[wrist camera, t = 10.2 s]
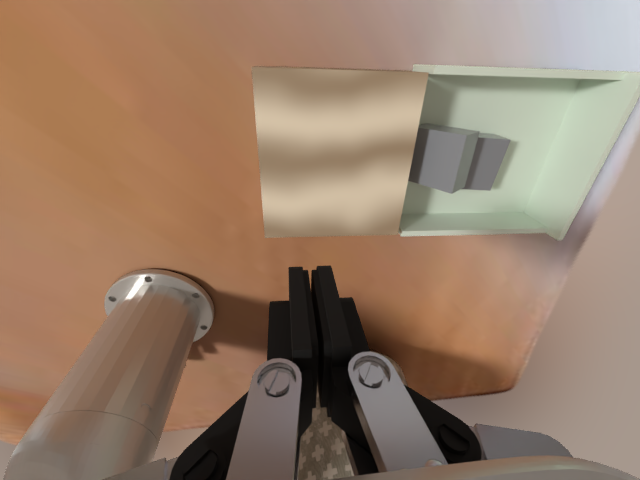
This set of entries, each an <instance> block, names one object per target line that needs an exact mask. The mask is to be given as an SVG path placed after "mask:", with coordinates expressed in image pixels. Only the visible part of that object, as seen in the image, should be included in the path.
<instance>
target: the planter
mask: <svg viewBox="0 0 640 480" xmlns="http://www.w3.org/2000/svg"><path fill="white" fill-rule="evenodd" d="M370 352H374V351H370ZM374 353H378V352H374ZM378 354H380V355H382V356H384V357H385V358H386V359H388V360H389V361H390V362H391V364H392V365H393V366H394V368H395V370H396V372H397V374H398V375H399V377H400V379H401V381H402V383H403V384H404V385H406V386H408V385H407V382H406V379H405V377H404V374H403V371H402V369H401V368H400V366H399V365H398V364H397V363H396V362H395V361H394V360H393V359H391V358H389V357H388V356H386V355H383V354H381V353H378ZM351 476H354V474H353V471H352V467H351V464H350V461H349V458H348V455H347V451H346V448H345V445H344V442H343V439H342V435H341V428H340V427H338V426H337V425H336V424H335V423H333V422H332V421H331V417H327V411H326V407H324V408H321V407H320V401H319V393H318V384H317V395H316V408H313V409H312V423H311V425H310V426H309V427H308V428H307V430H306V431H305V432H304V433H303V435H302V436H301V448H300V461H299V473H298V480H327V479H335V478H343V477H351Z"/></svg>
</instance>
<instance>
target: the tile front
mask: <svg viewBox="0 0 640 480" xmlns="http://www.w3.org/2000/svg"><path fill="white" fill-rule="evenodd" d="M479 132H480V131H475V130H468V129H462V128H455V127H449V126H442V125H435V124H429V123H425V124H421V125H419V127H418V132H417V137H416V142H415V147H414V153H413V158H412V163H411V168H410V173H409V178H408V181H411V182H414V183H417V184H421V185H424V186H427V187H431V188H434V189H437V190H441V191H444V192H447V193H451V194H453V193H454V192H456V191H458V190H460V189H462V188H463V187H465V183H466V180H467V176H468V172H469V169H470V165H471V161H472V158H473V154H474V151H475V147H476V143H477V140H478V136H479Z"/></svg>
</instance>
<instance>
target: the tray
mask: <svg viewBox="0 0 640 480" xmlns="http://www.w3.org/2000/svg"><path fill="white" fill-rule="evenodd" d="M413 71H416V72H427V73H429V75H428V80H427V85H426V90H425V95H424V101H423V106H422V111H421V116H420V121H419V125H421V124H425V123H429V124H435V125H442V126H449V127H455V128H462V129H468V130H475V131H480V132H479V133H489V134H496V135H499V136H502V137H505V138H508V139H510V140H511V141H510V143H509V146H508V148H507V151H506V153H505V156H504V158H503V161H502V163H501V166H500V168H499V170H498V173H497V175H496V178H495V180H494V183H493V185H492V188H491V190H490V191H488V190H468V189H460V190H458V191H456V192H454V193H453V194H451V193H447V192H444V191H441V190H437V189H434V188H431V187H427V186H424V185H421V184H417V183H414V182H411V181H408V184H407V189H406V194H405V199H404V204H403V210H402V215H401V220H400V225H399V230H398V232H399V234H400V236H442V235H486V234H531V233H547V234H548V235H550V236H551V237H553V238H554V239H556V240H563V238H564V237H565V235H566V233H567V231H568V229H569V227H570V225H571V223H572V222H573V220H574V218H575V216H576V214H577V212H578V210H579V209H580V207H581V205H582V203H583V201H584V199H585V197H586V195H587V194H588V192H589V190H590V188H591V186H592V184H593V182H594V181H595V179H596V177H597V175H598V173H599V171H600V169H601V167H602V166H603V164H604V162H605V160H606V158H607V156H608V154H609V153H610V151H611V149H612V147H613V145H614V143H615V141H616V139H617V138H618V136H619V134H620V132H621V130H622V128H623V126H624V125H625V123H626V121H627V119H628V117H629V115H630V113H631V111H632V110H633V108H634V106H635V104H636V102H637V100H638V98H639V97H640V72H626V71H596V70H567V69H538V68H508V67H479V66H450V65H420V64H414V65H413Z"/></svg>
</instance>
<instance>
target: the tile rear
mask: <svg viewBox="0 0 640 480" xmlns="http://www.w3.org/2000/svg"><path fill="white" fill-rule="evenodd" d="M510 141H511V140H510V139H508V138H505V137H502V136H499V135H496V134H489V133H479V136H478V140H477V143H476V147H475V151H474V154H473V158H472V161H471V165H470V169H469V172H468V176H467V180H466V183H465V187H463V188H462V189H468V190H488V191H490V190H491V188H492V185H493V183H494V180H495V178H496V175H497V173H498V170H499V168H500V166H501V163H502V161H503V158H504V156H505V153H506V151H507V148H508V146H509V143H510Z"/></svg>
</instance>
